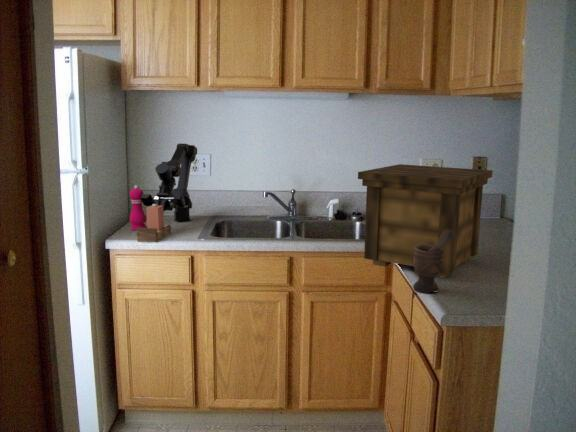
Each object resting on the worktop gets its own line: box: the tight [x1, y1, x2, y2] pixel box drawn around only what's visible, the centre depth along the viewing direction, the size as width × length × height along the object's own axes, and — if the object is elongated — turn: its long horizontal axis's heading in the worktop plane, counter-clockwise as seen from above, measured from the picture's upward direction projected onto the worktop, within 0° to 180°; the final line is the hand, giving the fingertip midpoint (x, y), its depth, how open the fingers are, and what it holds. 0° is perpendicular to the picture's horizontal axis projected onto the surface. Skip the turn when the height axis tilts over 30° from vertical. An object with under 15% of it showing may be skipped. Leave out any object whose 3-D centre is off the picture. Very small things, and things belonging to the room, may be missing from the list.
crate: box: [357, 164, 493, 278], centre depth 183 cm, size 35×35×33 cm
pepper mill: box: [129, 184, 147, 231], centre depth 233 cm, size 7×7×20 cm
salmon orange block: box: [146, 204, 165, 231], centre depth 220 cm, size 6×5×11 cm
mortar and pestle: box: [412, 229, 454, 294], centre depth 154 cm, size 12×9×20 cm
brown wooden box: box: [136, 224, 172, 243], centre depth 220 cm, size 17×8×6 cm, turn 172°
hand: (158, 216), depth 224 cm, fingers closed, pressing on salmon orange block
